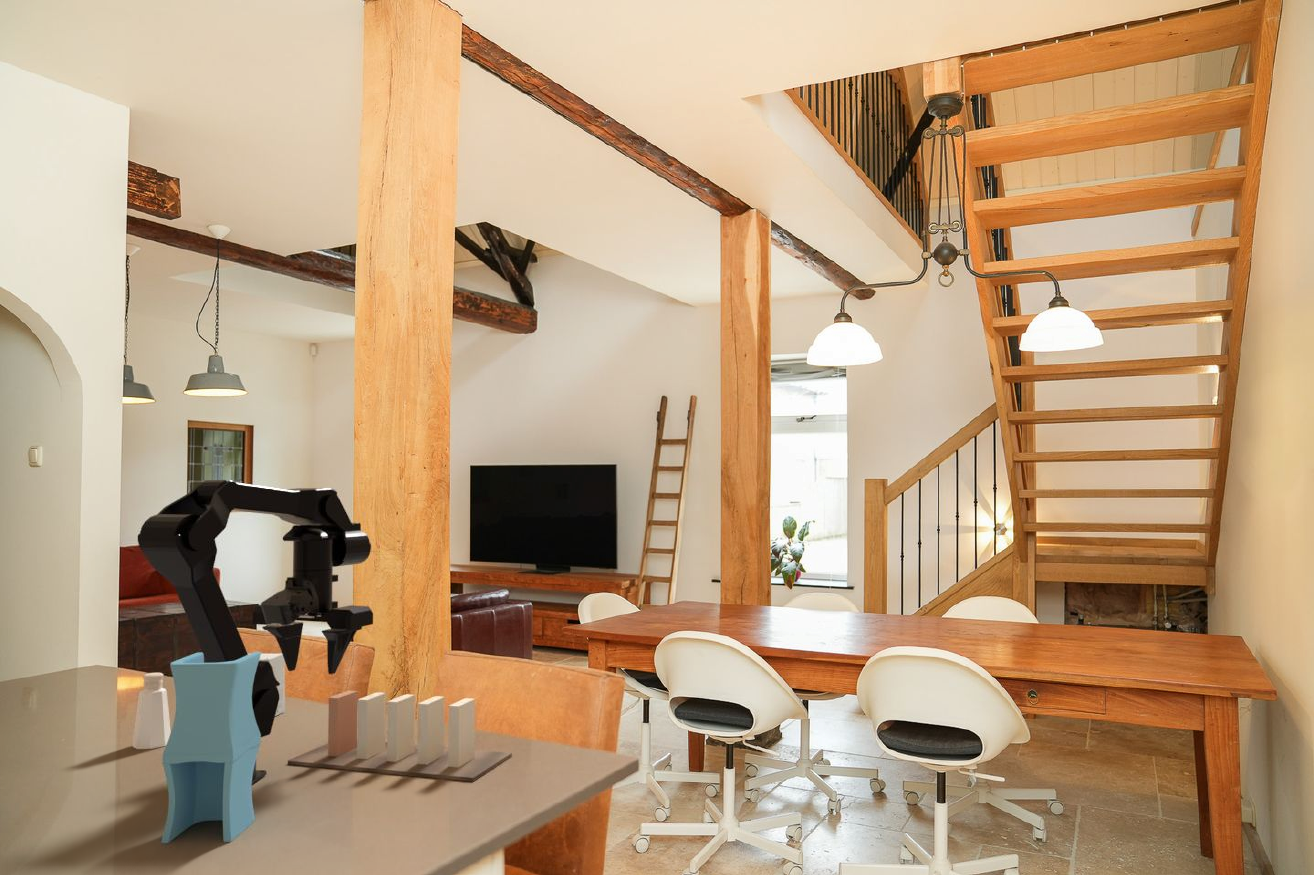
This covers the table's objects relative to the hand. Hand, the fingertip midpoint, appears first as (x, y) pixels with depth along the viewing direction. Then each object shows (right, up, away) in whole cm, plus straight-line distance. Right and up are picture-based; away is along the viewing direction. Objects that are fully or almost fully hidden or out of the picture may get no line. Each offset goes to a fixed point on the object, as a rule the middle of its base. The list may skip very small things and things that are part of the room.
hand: (311, 672), depth 138 cm
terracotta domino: (+6, -11, -2) cm, 13 cm away
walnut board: (+15, -12, -5) cm, 20 cm away
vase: (0, -11, -32) cm, 33 cm away
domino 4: (+25, -11, -8) cm, 28 cm away
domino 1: (+10, -11, -4) cm, 16 cm away
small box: (-18, -14, +22) cm, 31 cm away
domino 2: (+15, -11, -5) cm, 19 cm away
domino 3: (+20, -11, -6) cm, 24 cm away
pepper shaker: (-27, -13, +4) cm, 30 cm away
